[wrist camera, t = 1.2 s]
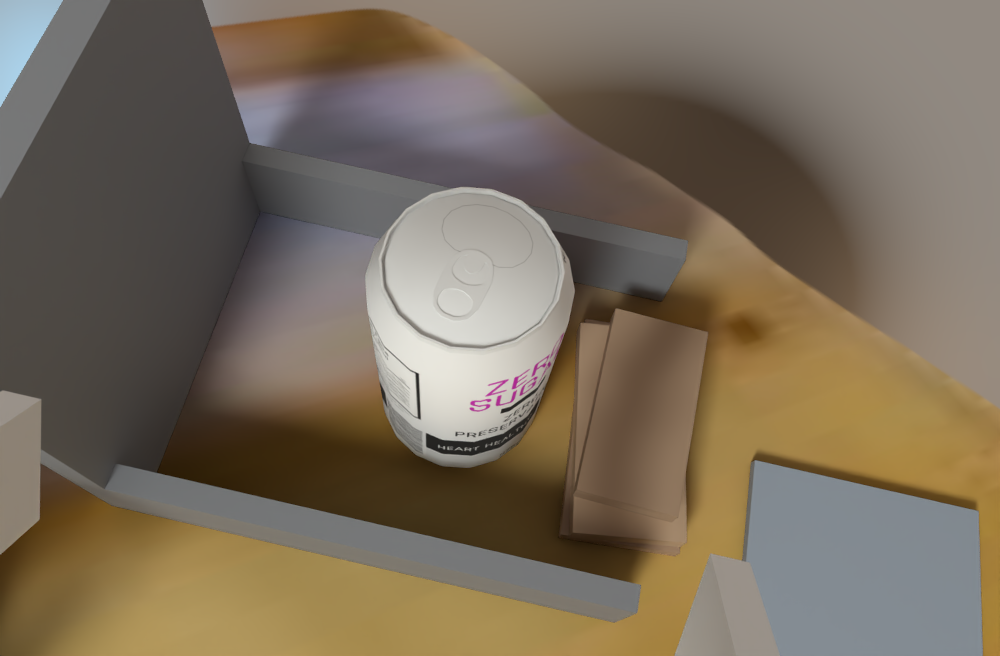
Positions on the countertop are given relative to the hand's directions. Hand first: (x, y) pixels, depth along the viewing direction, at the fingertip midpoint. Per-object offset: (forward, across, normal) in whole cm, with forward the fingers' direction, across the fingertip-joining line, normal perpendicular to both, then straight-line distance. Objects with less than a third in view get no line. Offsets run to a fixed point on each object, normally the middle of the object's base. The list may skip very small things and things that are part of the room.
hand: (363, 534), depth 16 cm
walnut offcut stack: (+27, -9, +10) cm, 30 cm away
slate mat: (+23, -22, +14) cm, 35 cm away
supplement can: (+27, 0, +10) cm, 29 cm away
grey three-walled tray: (+27, +3, +10) cm, 29 cm away
